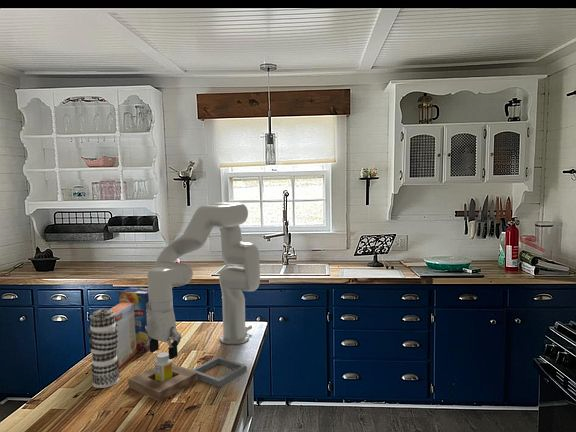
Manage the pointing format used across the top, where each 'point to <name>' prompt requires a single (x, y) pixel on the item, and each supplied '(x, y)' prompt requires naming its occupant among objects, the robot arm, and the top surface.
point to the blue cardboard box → (138, 314)
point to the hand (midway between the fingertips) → (163, 354)
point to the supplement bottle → (163, 368)
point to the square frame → (219, 382)
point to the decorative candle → (104, 348)
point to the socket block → (163, 390)
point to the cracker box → (125, 331)
